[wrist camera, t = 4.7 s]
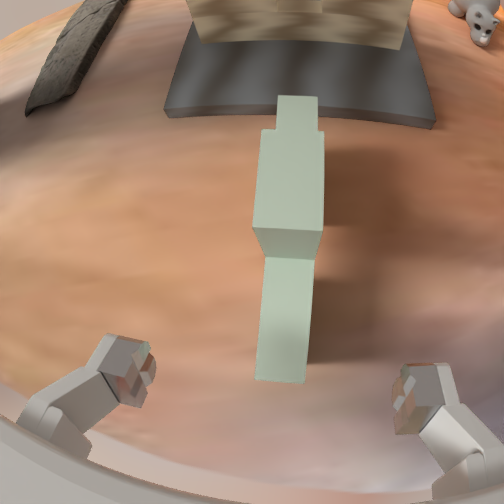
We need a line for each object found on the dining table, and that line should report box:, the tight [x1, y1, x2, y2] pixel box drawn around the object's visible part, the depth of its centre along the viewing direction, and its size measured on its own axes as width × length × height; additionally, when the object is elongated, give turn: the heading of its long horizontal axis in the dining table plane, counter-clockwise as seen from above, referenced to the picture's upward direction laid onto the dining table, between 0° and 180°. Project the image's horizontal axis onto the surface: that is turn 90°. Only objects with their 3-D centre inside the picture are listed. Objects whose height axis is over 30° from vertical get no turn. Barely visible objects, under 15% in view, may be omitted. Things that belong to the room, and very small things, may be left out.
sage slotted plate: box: [252, 95, 324, 384], centre depth 17 cm, size 16×2×12 cm, turn 175°
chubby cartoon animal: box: [448, 0, 500, 46], centre depth 23 cm, size 7×12×8 cm, turn 168°
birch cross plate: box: [164, 0, 436, 129], centre depth 24 cm, size 24×20×9 cm
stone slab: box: [25, 0, 128, 117], centre depth 34 cm, size 10×3×30 cm
